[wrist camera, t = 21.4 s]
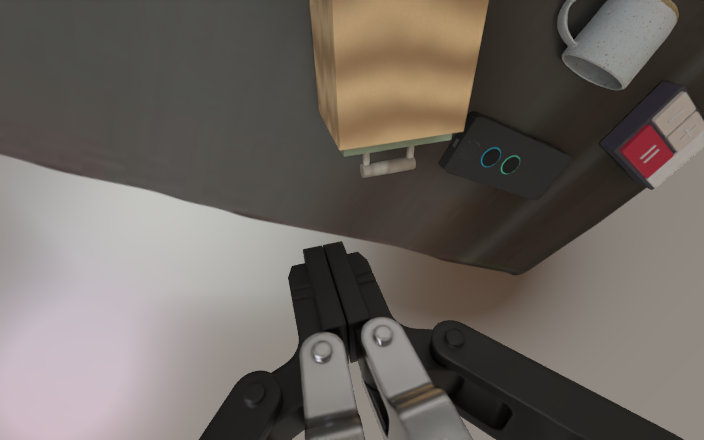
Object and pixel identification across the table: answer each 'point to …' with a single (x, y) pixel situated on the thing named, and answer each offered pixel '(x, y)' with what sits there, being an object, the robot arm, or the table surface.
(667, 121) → the calculator
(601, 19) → the ceramic mug
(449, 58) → the cabinet
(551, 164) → the smart home device
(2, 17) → the table surface
